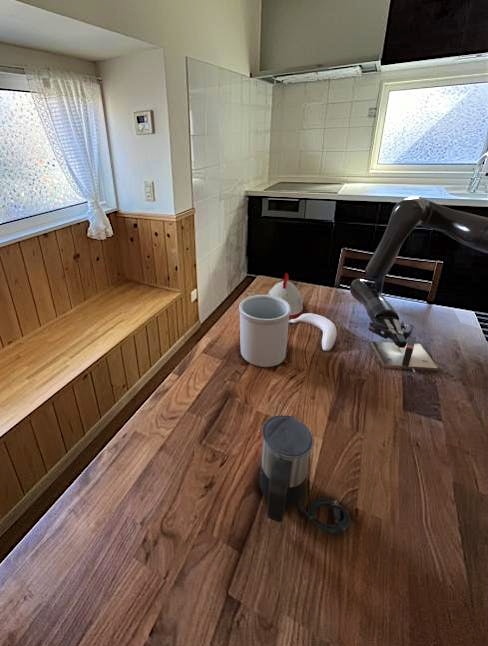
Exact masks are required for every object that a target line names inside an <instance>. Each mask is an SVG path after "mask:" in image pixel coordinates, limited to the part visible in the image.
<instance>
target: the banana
mask: <svg viewBox="0 0 488 646" xmlns="http://www.w3.org/2000/svg"><path fill="white" fill-rule="evenodd" d="M289 323H293V324H296V323H303V324H310V325H313V326H315V327H316V328H318V329H320V331H322V338H321V348H322V350H323V351H325V352H329V351H330V350H331V349H333V347H334V345H335V343H336V340H337V334H338V332H337V331H338V330H337V327H336V325H335V323H334V322H332V320H330V319H329V318H326V317H325V316H323V315H320V314H316V313H313V312H312V313H311V312H309V313H308V312H307V313H302V314H301V315H300V316H299V317H297V318H294V319H289Z"/></svg>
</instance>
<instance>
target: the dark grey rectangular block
mask: <svg viewBox="0 0 488 646" xmlns="http://www.w3.org/2000/svg"><path fill="white" fill-rule="evenodd" d="M416 339H417V337H416V336H413V335H410V336H409V337H408V339H407V346H406V350H405V354H404V358H403V362H402V365H404V366H407V367H408V366H409V362H410V359H411V355H412V352H413V348H414V344H416V343H415V342H416Z"/></svg>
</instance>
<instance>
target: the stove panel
mask: <svg viewBox="0 0 488 646" xmlns="http://www.w3.org/2000/svg"><path fill="white" fill-rule="evenodd" d="M370 345H371V347H372V349H373V351H374V353H375V355H376V357H377V358H378V360H379V362H380V364H381V366H382V368H384V369H385V368H386V369H400V370H412V372H413V373H416V371H429V372H438V371H439V367H438V365H436V363H435V361H434V360H433V359H432V358H431V356H430V355H429V354H428V352H427V351H426V350H425V347H423V346H422V344H420V343H414V348H413V352H412V355H411V359H410V362H409V366H408V367H407V366H404V365H402V362H403V358H404V354H405V350H406V346H407V344H406V346H405V348H399V347H398V346H396V345H395V344H394V342H387V341H371V343H370Z"/></svg>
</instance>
